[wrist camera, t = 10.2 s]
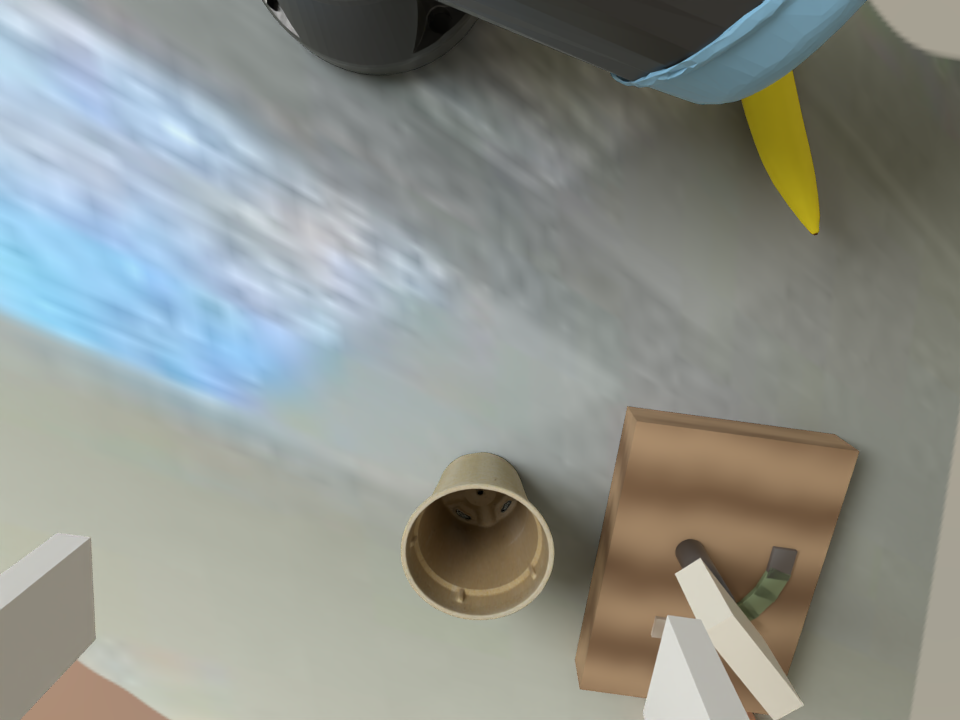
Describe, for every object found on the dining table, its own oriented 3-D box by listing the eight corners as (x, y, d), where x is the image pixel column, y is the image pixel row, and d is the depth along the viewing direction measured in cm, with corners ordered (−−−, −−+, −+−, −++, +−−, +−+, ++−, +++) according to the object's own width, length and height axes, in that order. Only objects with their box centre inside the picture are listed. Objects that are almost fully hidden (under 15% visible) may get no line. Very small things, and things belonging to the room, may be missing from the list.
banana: (755, 238, 39) (802, 244, 32) (697, -79, 34) (740, -142, 28) (799, 225, 38) (856, 228, 32) (747, -97, 34) (802, -164, 28)
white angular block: (649, 523, 41) (701, 633, 30) (673, 508, 40) (734, 613, 30) (735, 631, 42) (811, 769, 32) (758, 617, 42) (843, 752, 32)
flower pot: (555, 441, 43) (568, 498, 34) (531, 553, 45) (538, 632, 37) (428, 420, 43) (411, 472, 34) (411, 533, 45) (391, 607, 37)
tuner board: (627, 406, 42) (637, 422, 39) (834, 434, 42) (862, 453, 39) (574, 659, 47) (580, 692, 44) (757, 684, 47) (776, 718, 44)
